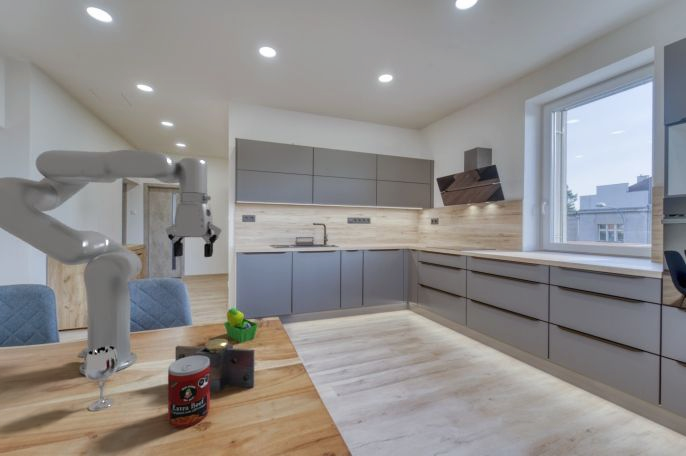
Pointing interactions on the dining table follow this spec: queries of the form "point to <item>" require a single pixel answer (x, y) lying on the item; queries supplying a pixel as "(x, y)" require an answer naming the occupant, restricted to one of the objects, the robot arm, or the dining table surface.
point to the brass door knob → (216, 345)
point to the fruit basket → (239, 326)
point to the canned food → (188, 391)
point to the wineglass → (101, 371)
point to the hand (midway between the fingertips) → (193, 256)
